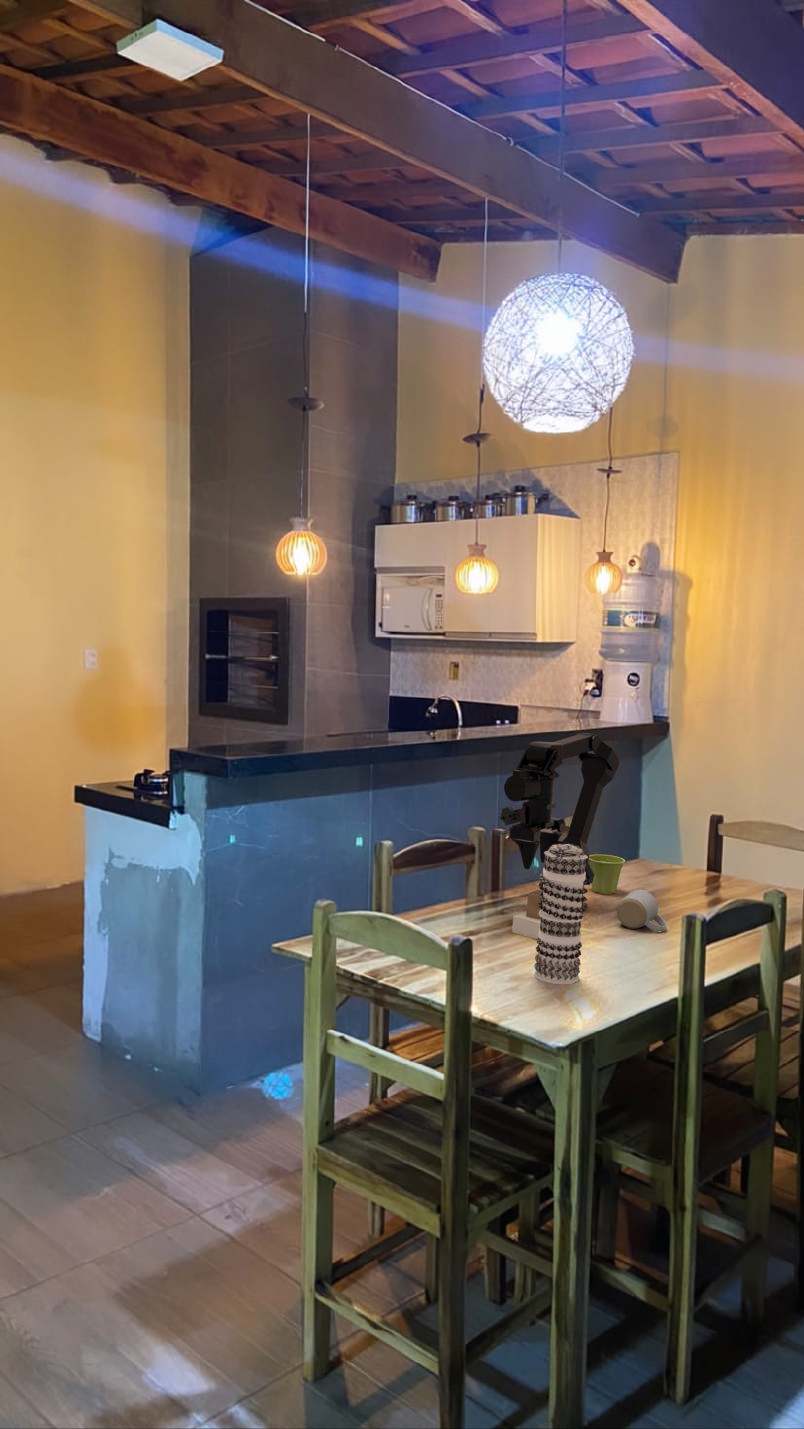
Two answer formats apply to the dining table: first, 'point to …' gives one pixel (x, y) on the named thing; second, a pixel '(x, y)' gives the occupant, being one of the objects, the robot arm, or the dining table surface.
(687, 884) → the dining table surface
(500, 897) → the dining table surface
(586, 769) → the robot arm
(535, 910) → the walnut cube
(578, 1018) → the dining table surface
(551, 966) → the decorative candle
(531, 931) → the cream block
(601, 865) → the plant pot
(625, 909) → the ceramic mug
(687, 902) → the dining table surface
